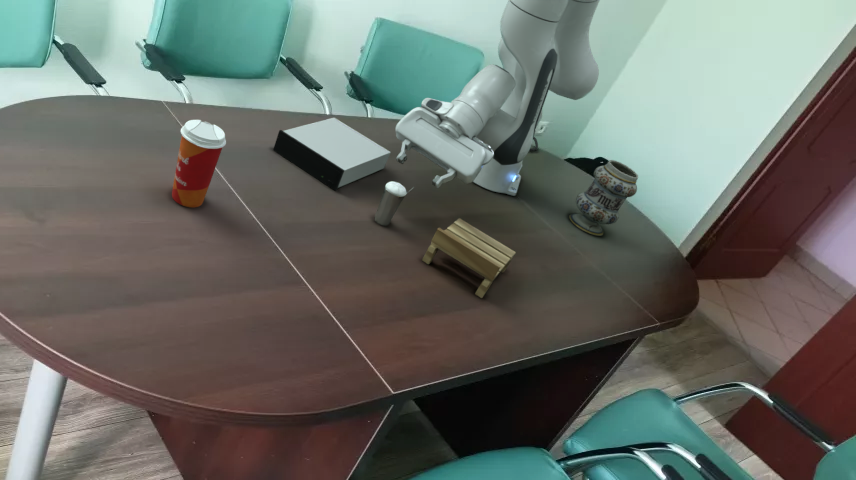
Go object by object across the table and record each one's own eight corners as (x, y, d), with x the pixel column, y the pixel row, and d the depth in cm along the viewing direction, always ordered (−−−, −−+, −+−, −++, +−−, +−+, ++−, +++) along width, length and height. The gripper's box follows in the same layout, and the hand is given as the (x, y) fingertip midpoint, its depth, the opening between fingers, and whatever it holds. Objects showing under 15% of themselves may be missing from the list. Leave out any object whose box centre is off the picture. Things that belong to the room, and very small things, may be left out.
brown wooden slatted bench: (450, 235, 147) (466, 205, 143) (505, 269, 144) (523, 239, 140) (420, 261, 133) (437, 229, 129) (480, 299, 130) (500, 267, 126)
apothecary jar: (614, 238, 181) (654, 182, 171) (587, 238, 174) (627, 180, 164) (584, 212, 188) (620, 157, 179) (557, 211, 181) (593, 153, 172)
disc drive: (272, 150, 149) (279, 130, 146) (327, 133, 167) (333, 115, 164) (334, 191, 144) (342, 171, 141) (384, 169, 162) (391, 151, 159)
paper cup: (169, 182, 123) (185, 113, 115) (210, 194, 125) (229, 127, 117) (162, 203, 117) (179, 132, 109) (206, 215, 119) (225, 146, 111)
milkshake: (393, 232, 139) (412, 191, 133) (369, 221, 139) (387, 180, 133) (396, 222, 143) (415, 183, 137) (373, 212, 143) (391, 172, 137)
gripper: (497, 158, 141) (456, 206, 139) (421, 110, 148) (381, 155, 145) (499, 143, 135) (456, 192, 133) (419, 93, 142) (377, 140, 139)
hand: (416, 173), depth 139 cm, fingers open, 8 cm apart
